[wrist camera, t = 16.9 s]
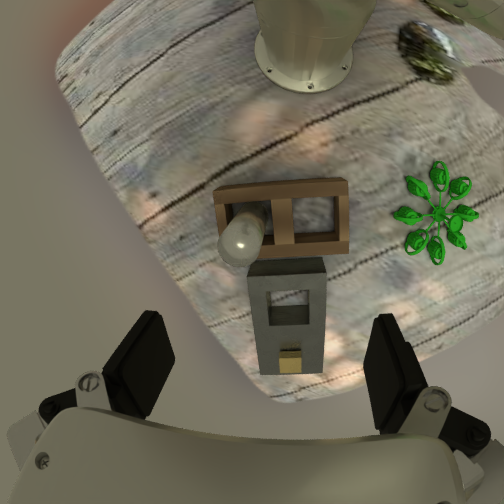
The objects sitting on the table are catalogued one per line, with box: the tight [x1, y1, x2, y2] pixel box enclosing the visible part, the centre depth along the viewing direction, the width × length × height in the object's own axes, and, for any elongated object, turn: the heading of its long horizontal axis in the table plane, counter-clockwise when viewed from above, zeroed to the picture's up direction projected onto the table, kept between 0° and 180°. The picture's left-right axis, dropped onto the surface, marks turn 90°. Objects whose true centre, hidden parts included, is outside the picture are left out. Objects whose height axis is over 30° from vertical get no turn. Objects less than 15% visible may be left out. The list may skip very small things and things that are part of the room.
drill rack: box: [213, 177, 349, 259], centre depth 34 cm, size 9×16×4 cm, turn 96°
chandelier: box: [394, 161, 479, 265], centre depth 30 cm, size 15×15×7 cm
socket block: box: [247, 257, 327, 375], centre depth 39 cm, size 18×10×5 cm, turn 6°
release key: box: [279, 351, 301, 373], centre depth 40 cm, size 3×3×6 cm
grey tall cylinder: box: [217, 201, 269, 267], centre depth 31 cm, size 4×4×12 cm
